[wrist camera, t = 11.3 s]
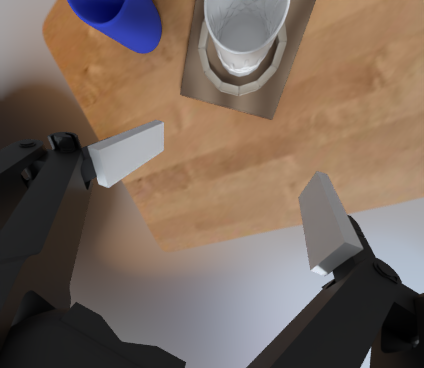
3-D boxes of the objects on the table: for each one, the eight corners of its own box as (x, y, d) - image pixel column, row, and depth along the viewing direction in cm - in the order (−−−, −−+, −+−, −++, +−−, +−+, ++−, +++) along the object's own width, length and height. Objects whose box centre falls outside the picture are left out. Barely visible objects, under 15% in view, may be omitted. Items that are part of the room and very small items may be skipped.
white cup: (205, 54, 25) (187, 9, 16) (243, 2, 23) (249, -87, 13) (240, 92, 26) (243, 72, 17) (281, 47, 24) (310, -6, 14)
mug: (103, -22, 25) (23, -112, 16) (175, 10, 25) (137, -61, 16) (96, 40, 28) (24, -5, 19) (160, 69, 28) (121, 38, 18)
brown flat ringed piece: (314, -2, 22) (324, -18, 20) (271, 119, 28) (274, 118, 25) (203, -28, 23) (199, -47, 21) (182, 95, 29) (177, 92, 26)
